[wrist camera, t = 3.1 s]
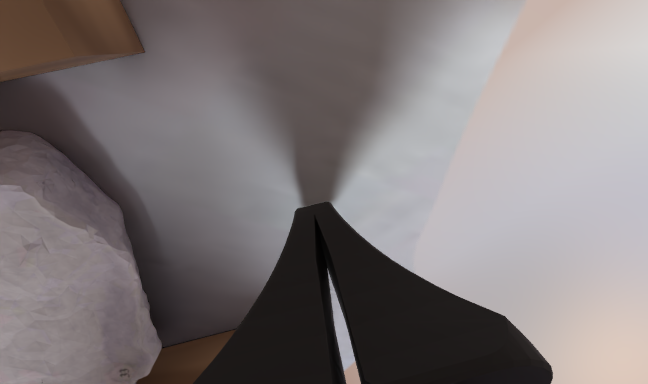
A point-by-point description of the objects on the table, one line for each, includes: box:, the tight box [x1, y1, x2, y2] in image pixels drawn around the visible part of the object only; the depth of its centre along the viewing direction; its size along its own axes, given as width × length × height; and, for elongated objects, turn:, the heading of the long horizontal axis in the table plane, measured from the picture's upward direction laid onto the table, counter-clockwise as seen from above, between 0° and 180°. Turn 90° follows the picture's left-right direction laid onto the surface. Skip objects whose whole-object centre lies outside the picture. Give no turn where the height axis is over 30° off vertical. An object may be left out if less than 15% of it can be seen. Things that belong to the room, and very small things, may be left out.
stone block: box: [0, 130, 162, 384], centre depth 10 cm, size 12×5×10 cm
